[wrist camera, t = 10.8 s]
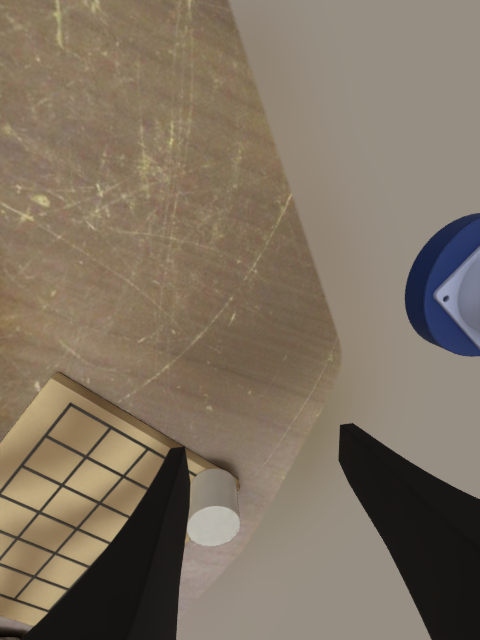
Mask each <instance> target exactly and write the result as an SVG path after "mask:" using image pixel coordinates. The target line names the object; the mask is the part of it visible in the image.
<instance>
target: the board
mask: <svg viewBox="0 0 480 640" xmlns="http://www.w3.org/2000/svg"><path fill="white" fill-rule="evenodd" d="M176 447H183V446H181V445H180V444H178V443H176V442H175V441H173V440H171V439H170V438H168V437H166V436H165V435H163V434H161V433H160V432H158V431H156V430H155V429H153V428H151V427H150V426H148V425H146V424H145V423H143V422H141V421H139V420H138V419H136V418H134V417H133V416H131V415H129V414H128V413H126V412H124V411H123V410H121V409H119V408H118V407H116V406H114V405H113V404H111V403H109V402H108V401H106V400H104V399H103V398H101V397H99V396H98V395H96V394H94V393H93V392H91V391H89V390H88V389H86V388H84V387H83V386H81V385H79V384H77V383H76V382H74V381H72V380H71V379H69V378H67V377H66V376H64V375H62V374H61V373H59V372H57V373H56V374H55V375H54V376H52V377H51V378H50V379H49V381H48V382H47V383H46V384H45V386H44V387H43V388H42V390H41V391H40V392H39V394H38V395H37V396H36V397H35V399H34V400H33V401H32V403H31V404H30V405H29V407H28V408H27V409H26V410H25V412H24V413H23V414H22V416H21V417H20V418H19V420H18V421H17V422H16V423H15V425H14V426H13V427H12V429H11V430H10V431H9V433H8V434H7V435H6V436H5V438H4V439H3V440H2V442H1V443H0V616H3V617H6V618H9V619H12V620H15V621H19V622H22V623H25V624H28V625H31V626H35V625H36V624H37V623H38V622H39V621H40V620H41V619H42V618H43V617H44V616H45V615H46V614H47V613H48V612H49V611H50V610H51V609H52V608H53V607H54V606H55V605H56V604H57V603H58V602H59V601H60V600H61V599H62V598H63V597H64V596H65V594H66V593H67V592H68V591H69V590H70V589H71V588H72V587H73V586H74V585H75V584H76V583H77V581H78V580H79V579H80V578H81V577H82V576H83V575H84V574H85V573H86V572H87V570H88V569H89V568H90V567H91V566H92V565H93V563H94V562H95V561H96V560H97V559H98V557H99V556H100V555H101V554H102V552H103V551H104V550H105V549H106V548H107V546H108V545H109V544H110V543H111V541H112V540H113V539H114V537H115V536H116V535H117V533H118V532H119V531H120V530H121V528H122V527H123V525H124V524H125V523H126V521H127V520H128V518H129V517H130V516H131V514H132V513H133V511H134V510H135V508H136V507H137V505H138V504H139V502H140V501H141V499H142V497H143V496H144V494H145V493H146V491H147V489H148V488H149V486H150V484H151V483H152V481H153V479H154V478H155V476H156V474H157V472H158V471H159V469H160V467H161V465H162V463H163V461H164V459H165V457H166V455H167V453H168V451H169V450H170V449H171V448H176ZM185 450H186V457H187V463H188V469H189V475H190V482H192V481H193V479H194V478H195V477H196V476H197V475H198V474H199V473H201V472H203V471H205V470H208V469H220V468H218V467H217V466H215V465H213V464H212V463H210V462H208V461H207V460H205V459H203V458H201V457H200V456H198V455H196V454H195V453H193V452H191V451H190V450H188V449H186V448H185ZM234 478H235V477H234ZM235 481H236V486H237V492H238V491H239V490H240V485H239V480H238V479H237V478H235ZM189 540H190V537H189V536H188V533H187V532H186V539H185V544H186V543H187V542H188V541H189Z"/></svg>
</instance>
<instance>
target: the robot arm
mask: <svg viewBox="0 0 480 640" xmlns="http://www.w3.org/2000/svg"><path fill="white" fill-rule="evenodd" d="M433 297H434V299H435V300H436V301H437V302H438V304H439V305H440V306H441V307H442V308H443V309H444V310H445V311H446V313H447V314H448V315H449V316H450V317H451V318H452V319H453V320H454V322H455V323H456V324H457V325H458V326H459V327H460V328H461V329H462V331H463V332H464V333H465V334H466V335H467V336H468V337H469V338H470V340H471V341H472V342H473V343H474V344H475V345H476V346H477V347H478V349H479V350H480V246H479V247H478V248H477V249H476V250H475V251H474V252H473V253H472V254H471V255H470V256H469V257H468V258H467V259H466V260H465V261H464V262H463V263H462V264H461V265H460V266H459V267H458V268H457V269H456V270H455V271H454V272H453V273H452V274H451V275H450V276H449V277H448V278H447V279H446V280H445V281H444V282H443V283H442V284H441V285H440V286H439V287H438V288H437V289H436V290H435V292H434V294H433ZM444 297H445V299H444V300H443V298H444ZM339 462H340V465H341V467H342V469H343V471H344V474H345V476H346V478H347V480H348V482H349V484H350V486H351V487H352V489H353V491H354V493H355V494H356V496H357V497H358V499H359V501H360V502H361V504H362V506H363V508H364V509H365V511H366V512H367V514H368V516H369V517H370V519H371V521H372V522H373V524H374V526H375V527H376V529H377V531H378V532H379V534H380V536H381V537H382V539H383V541H384V543H385V544H386V546H387V548H388V550H389V552H390V554H391V556H392V558H393V560H394V562H395V563H396V566H397V568H398V570H399V572H400V574H401V576H402V578H403V580H404V582H405V584H406V586H407V588H408V590H409V592H410V594H411V596H412V598H413V600H414V603H415V605H416V607H417V609H418V611H419V613H420V615H421V617H422V619H423V622H424V624H425V626H426V628H427V630H428V633H429V635H430V637H431V639H432V640H480V499H478V498H476V497H473V496H471V495H469V494H467V493H465V492H463V491H461V490H459V489H457V488H455V487H453V486H451V485H449V484H448V483H446V482H444V481H442V480H440V479H438V478H436V477H435V476H433V475H431V474H429V473H428V472H426V471H424V470H423V469H421V468H419V467H418V466H416V465H414V464H413V463H411V462H409V461H408V460H406V459H405V458H403V457H402V456H400V455H398V454H397V453H395V452H394V451H392V450H391V449H389V448H388V447H386V446H385V445H384V444H382V443H381V442H379V441H378V440H376V439H375V438H373V437H372V436H371V435H369V434H368V433H366V432H365V431H363V430H362V429H360V428H359V427H358V426H356V425H355V424H353V423H352V424H343V425H340V440H339ZM190 486H191V482H190V475H189V469H188V463H187V457H186V450H185V446H183V447H176V448H171V449H170V450H169V451H168V453H167V455H166V457H165V459H164V461H163V463H162V465H161V467H160V469H159V471H158V472H157V474H156V476H155V478H154V479H153V481H152V483H151V484H150V486H149V488H148V489H147V491H146V493H145V494H144V496H143V497H142V499H141V501H140V502H139V504H138V505H137V507H136V508H135V510H134V511H133V513H132V514H131V516H130V517H129V518H128V520H127V521H126V523H125V524H124V525H123V527H122V528H121V530H120V531H119V532H118V533H117V535H116V536H115V537H114V539H113V540H112V541H111V543H110V544H109V545H108V546H107V548H106V549H105V550H104V551H103V552H102V554H101V555H100V556H99V557H98V559H97V560H96V561H95V562H94V563H93V565H92V566H91V567H90V568H89V569H88V570H87V572H86V573H85V574H84V575H83V576H82V577H81V578H80V579H79V580H78V581H77V583H76V584H75V585H74V586H73V587H72V588H71V589H70V590H69V591H68V592H67V593H66V594H65V596H64V597H63V598H62V599H61V600H60V601H59V602H58V603H57V604H56V605H55V606H54V607H53V608H52V609H51V610H50V611H49V612H48V613H47V614H46V615H45V616H44V617H43V618H42V619H41V620H40V621H39V622H38V623H37V624H36V625H35V626H34V627H33V628H32V629H31V630H30V631H29V632H28V633H27V634H26V635H25V636H24V637H23V638H22V639H21V640H176V631H177V614H178V598H179V585H180V576H181V568H182V560H183V553H184V546H185V539H186V532H187V524H188V517H189V509H190Z"/></svg>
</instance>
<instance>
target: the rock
mask: <svg viewBox="0 0 480 640" xmlns="http://www.w3.org/2000/svg"><path fill="white" fill-rule="evenodd" d="M0 640H20V639H19V638H18V637H2V638H0Z"/></svg>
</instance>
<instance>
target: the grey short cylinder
mask: <svg viewBox="0 0 480 640" xmlns="http://www.w3.org/2000/svg"><path fill="white" fill-rule="evenodd" d="M239 528H240V514H239V505H238V495H237V486H236V481H235V478H234V477H233V476H232V475H231V474H230V473H229V472H227V471H225V470H222V469H208V470H205V471H203V472H201V473H199V474H198V475H197V476H196V477H195V478H194V479H193V481H192V482H191V486H190V509H189V517H188V524H187V533H188V536H189V537H190V539H191V540H192V541H194V542H195V543H197V544H199V545H203V546H218V545H222V544H224V543H227V542H228V541H230V540H231V539H233V538H234V537H235V536H236V534H237V533H238V531H239Z"/></svg>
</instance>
